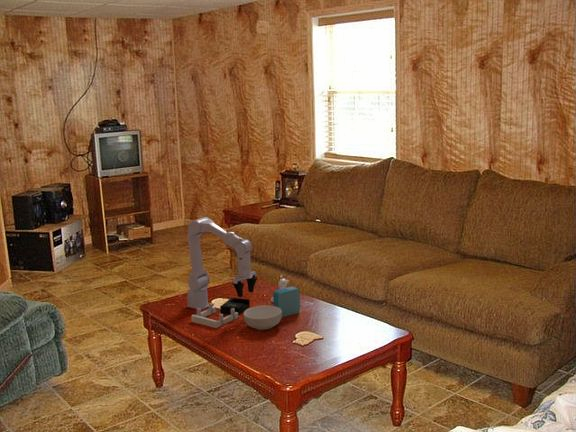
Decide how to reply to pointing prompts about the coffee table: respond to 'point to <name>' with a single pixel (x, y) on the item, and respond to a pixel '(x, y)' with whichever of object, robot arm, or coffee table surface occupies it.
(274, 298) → the teal box
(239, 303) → the battery charger
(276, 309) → the cereal bowl
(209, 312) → the dock
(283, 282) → the white creature statuette
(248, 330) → the coffee table surface
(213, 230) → the robot arm
